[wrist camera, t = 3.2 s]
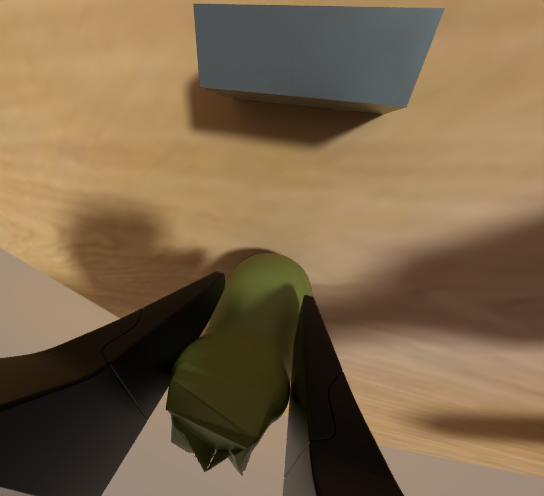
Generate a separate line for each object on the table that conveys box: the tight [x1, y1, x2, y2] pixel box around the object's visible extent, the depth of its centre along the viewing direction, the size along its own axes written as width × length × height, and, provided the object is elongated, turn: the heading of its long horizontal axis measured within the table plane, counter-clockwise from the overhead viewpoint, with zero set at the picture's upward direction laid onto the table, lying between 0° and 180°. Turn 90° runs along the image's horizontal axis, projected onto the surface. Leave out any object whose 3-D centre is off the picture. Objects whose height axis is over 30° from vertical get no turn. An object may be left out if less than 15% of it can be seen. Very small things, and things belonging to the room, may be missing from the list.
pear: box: [166, 253, 313, 475], centre depth 10 cm, size 6×5×10 cm
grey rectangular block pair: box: [193, 4, 445, 114], centre depth 12 cm, size 7×19×3 cm, turn 174°
